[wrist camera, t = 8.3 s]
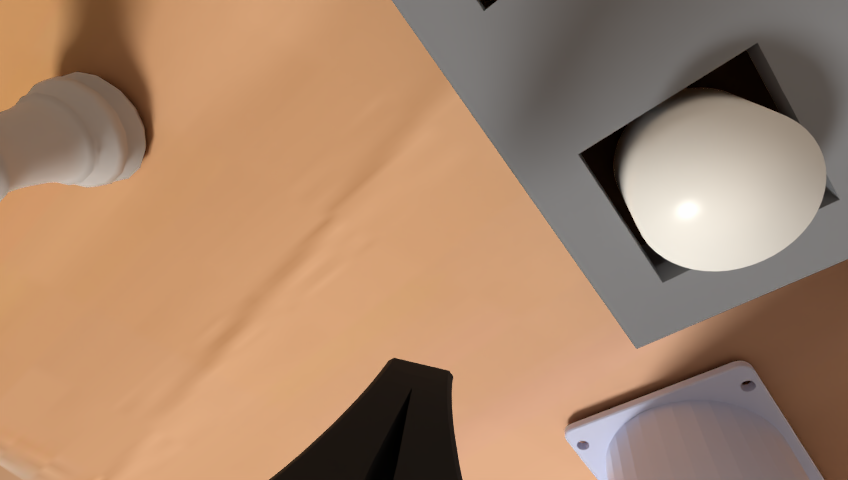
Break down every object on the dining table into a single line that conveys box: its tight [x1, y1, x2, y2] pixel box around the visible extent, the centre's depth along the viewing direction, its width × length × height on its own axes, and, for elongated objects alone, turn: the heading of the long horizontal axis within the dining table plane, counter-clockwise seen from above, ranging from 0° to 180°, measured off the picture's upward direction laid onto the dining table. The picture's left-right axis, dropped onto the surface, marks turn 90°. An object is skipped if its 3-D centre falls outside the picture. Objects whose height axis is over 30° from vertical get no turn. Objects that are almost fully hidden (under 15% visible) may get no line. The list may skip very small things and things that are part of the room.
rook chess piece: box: [0, 72, 146, 201], centre depth 17 cm, size 4×4×8 cm
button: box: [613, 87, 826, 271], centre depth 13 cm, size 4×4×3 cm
